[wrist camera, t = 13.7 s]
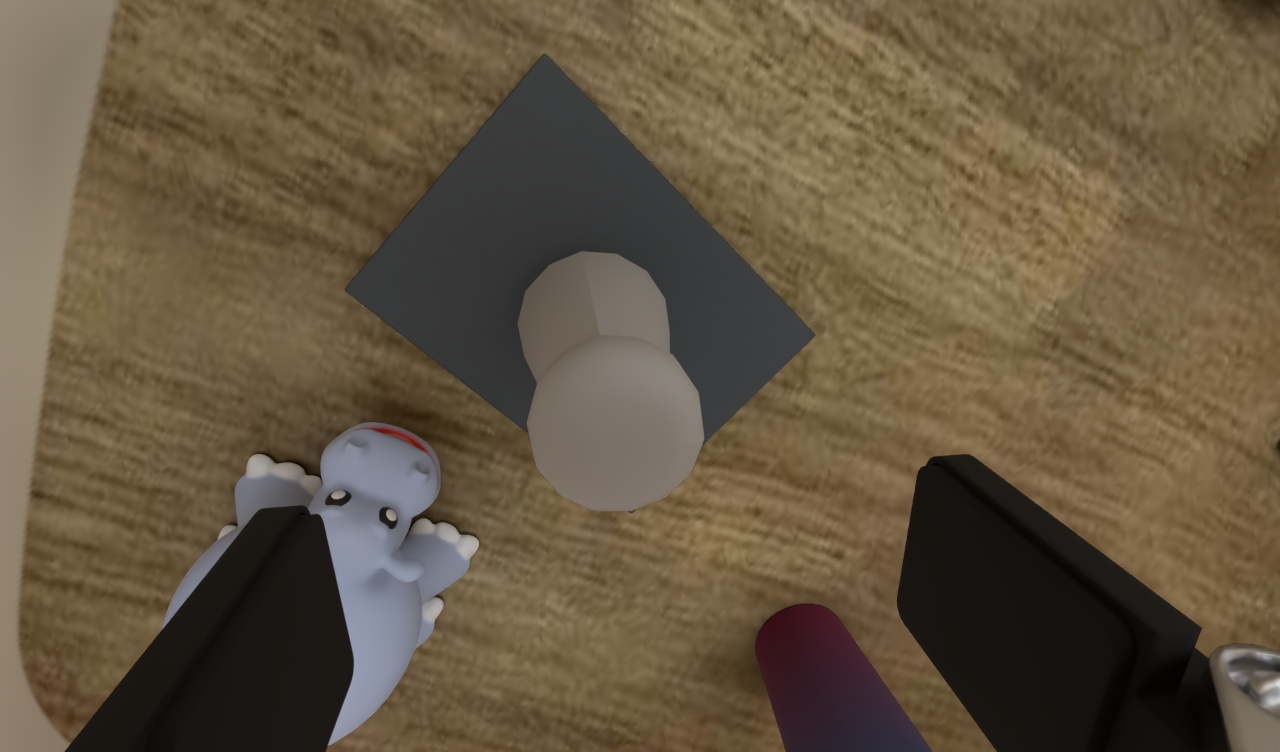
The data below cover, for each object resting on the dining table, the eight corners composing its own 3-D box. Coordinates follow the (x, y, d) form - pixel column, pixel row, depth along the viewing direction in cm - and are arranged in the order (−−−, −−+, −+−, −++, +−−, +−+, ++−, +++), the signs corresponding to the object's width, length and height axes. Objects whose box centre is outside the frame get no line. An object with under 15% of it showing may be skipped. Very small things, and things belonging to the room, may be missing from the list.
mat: (347, 287, 25) (343, 290, 25) (545, 54, 23) (544, 52, 23) (630, 508, 30) (631, 514, 30) (812, 332, 28) (816, 335, 28)
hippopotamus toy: (535, 445, 29) (525, 576, 20) (404, 682, 32) (344, 884, 23) (299, 340, 26) (161, 438, 17) (183, 613, 29) (19, 813, 20)
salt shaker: (595, 402, 28) (624, 596, 16) (493, 318, 26) (434, 464, 14) (687, 305, 27) (794, 432, 15) (586, 212, 25) (614, 268, 13)
